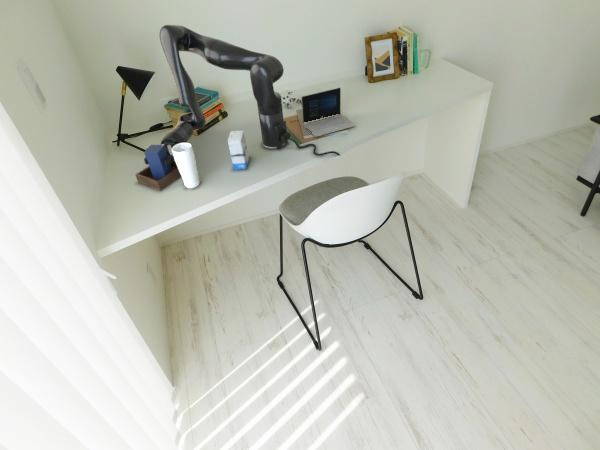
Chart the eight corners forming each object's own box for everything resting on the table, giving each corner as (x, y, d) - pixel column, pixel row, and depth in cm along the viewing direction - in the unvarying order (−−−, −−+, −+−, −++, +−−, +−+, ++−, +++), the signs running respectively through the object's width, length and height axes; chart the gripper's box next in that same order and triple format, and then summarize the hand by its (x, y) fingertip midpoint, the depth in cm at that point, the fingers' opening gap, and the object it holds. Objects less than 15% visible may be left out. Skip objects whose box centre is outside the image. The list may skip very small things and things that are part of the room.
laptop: (315, 138, 161) (314, 107, 153) (303, 126, 170) (301, 96, 162) (354, 127, 166) (355, 97, 158) (340, 116, 175) (340, 87, 167)
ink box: (246, 169, 146) (241, 141, 139) (232, 170, 147) (227, 141, 139) (249, 157, 153) (244, 129, 145) (236, 158, 153) (231, 130, 146)
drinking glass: (184, 180, 144) (173, 143, 134) (203, 178, 144) (193, 141, 134) (181, 191, 138) (169, 153, 129) (201, 189, 139) (190, 151, 129)
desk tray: (189, 170, 149) (187, 162, 146) (160, 190, 139) (157, 182, 137) (167, 163, 154) (164, 155, 151) (138, 182, 144) (135, 174, 142)
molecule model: (306, 108, 188) (306, 90, 187) (287, 107, 181) (287, 88, 179) (298, 109, 193) (298, 92, 191) (278, 108, 186) (278, 90, 184)
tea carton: (173, 171, 148) (164, 145, 141) (166, 179, 144) (157, 152, 137) (160, 170, 149) (151, 144, 142) (153, 178, 145) (144, 152, 138)
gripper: (155, 130, 151) (134, 152, 139) (190, 131, 149) (171, 154, 137) (161, 148, 156) (141, 170, 144) (195, 149, 154) (177, 172, 141)
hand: (155, 162), depth 140 cm, fingers open, 7 cm apart
